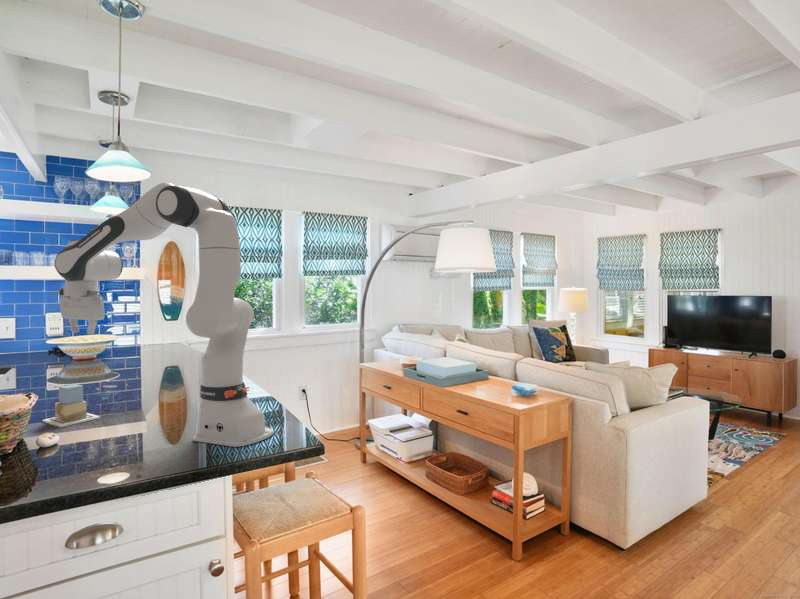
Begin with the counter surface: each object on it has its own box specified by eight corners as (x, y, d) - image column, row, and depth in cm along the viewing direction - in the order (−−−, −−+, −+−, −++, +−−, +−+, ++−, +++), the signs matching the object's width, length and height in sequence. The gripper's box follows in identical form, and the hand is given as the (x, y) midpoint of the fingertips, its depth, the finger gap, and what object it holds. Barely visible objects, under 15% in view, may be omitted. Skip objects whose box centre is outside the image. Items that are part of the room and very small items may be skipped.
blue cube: (83, 401, 143) (83, 385, 143) (66, 404, 139) (66, 388, 139) (75, 399, 145) (75, 384, 145) (59, 402, 141) (58, 386, 141)
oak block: (86, 417, 144) (86, 401, 143) (65, 422, 138) (64, 405, 138) (76, 414, 146) (76, 398, 146) (55, 419, 141) (55, 403, 141)
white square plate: (99, 418, 145) (99, 416, 145) (60, 427, 135) (60, 425, 135) (81, 413, 150) (81, 411, 150) (42, 421, 141) (42, 419, 141)
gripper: (110, 290, 145) (110, 334, 146) (76, 290, 155) (77, 331, 156) (88, 290, 140) (89, 336, 140) (55, 290, 150) (56, 332, 150)
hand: (83, 333), depth 148 cm, fingers open, 8 cm apart
